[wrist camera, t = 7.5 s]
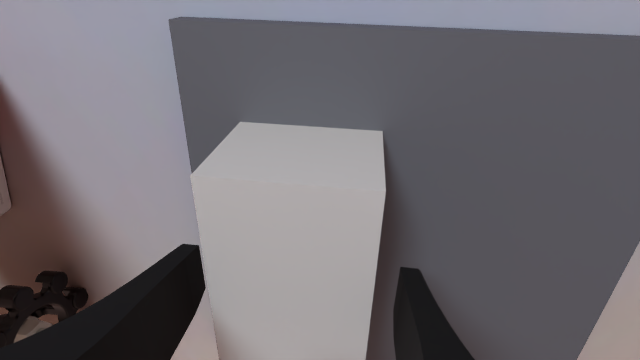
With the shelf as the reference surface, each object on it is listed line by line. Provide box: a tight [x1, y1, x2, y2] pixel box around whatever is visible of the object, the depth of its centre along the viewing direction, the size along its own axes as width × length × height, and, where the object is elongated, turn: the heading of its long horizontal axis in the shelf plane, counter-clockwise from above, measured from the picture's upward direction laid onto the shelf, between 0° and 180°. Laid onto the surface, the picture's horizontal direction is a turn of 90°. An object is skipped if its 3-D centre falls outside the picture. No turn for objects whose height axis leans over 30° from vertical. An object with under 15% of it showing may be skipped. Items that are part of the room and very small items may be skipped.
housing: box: [190, 122, 386, 360], centre depth 14 cm, size 9×5×4 cm, turn 179°
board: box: [169, 17, 640, 360], centre depth 16 cm, size 18×18×4 cm
